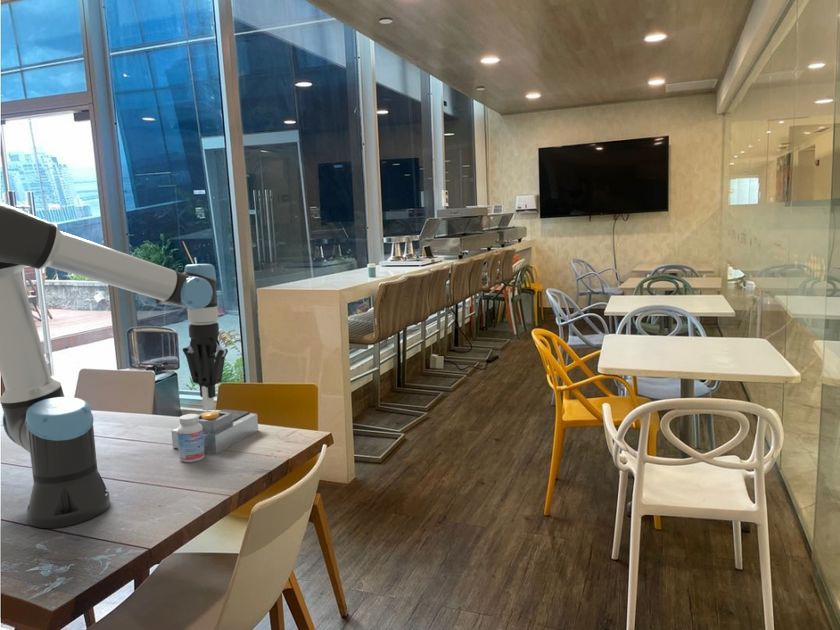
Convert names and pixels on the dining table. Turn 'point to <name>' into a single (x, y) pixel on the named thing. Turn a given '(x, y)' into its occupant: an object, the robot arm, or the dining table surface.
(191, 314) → the robot arm
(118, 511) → the dining table surface
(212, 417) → the button
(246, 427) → the stepped grey tray base
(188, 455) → the pill bottle
